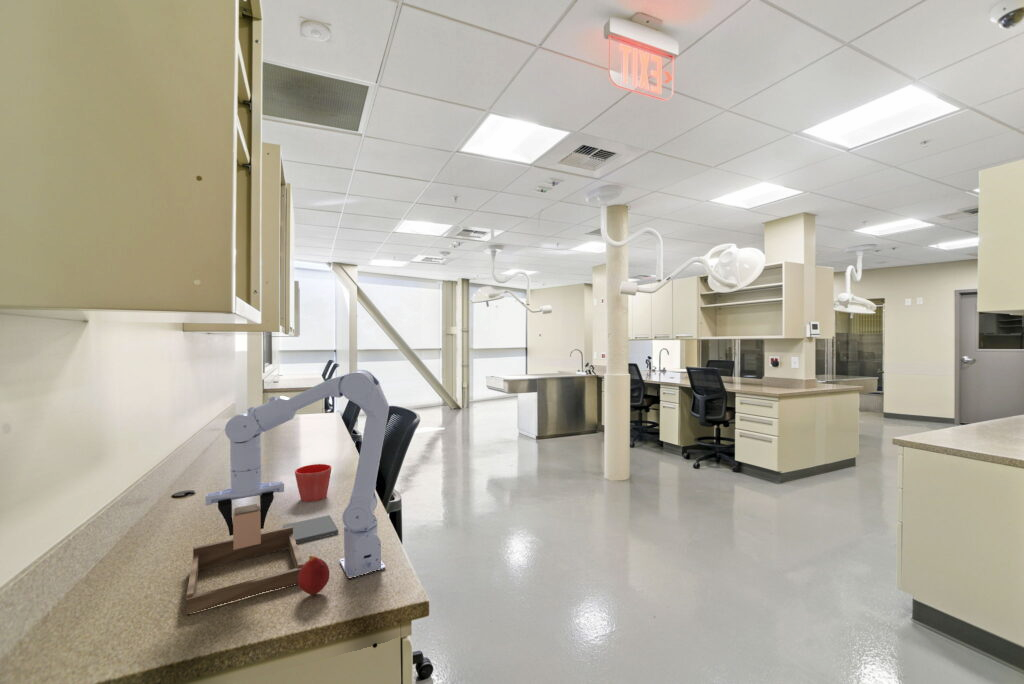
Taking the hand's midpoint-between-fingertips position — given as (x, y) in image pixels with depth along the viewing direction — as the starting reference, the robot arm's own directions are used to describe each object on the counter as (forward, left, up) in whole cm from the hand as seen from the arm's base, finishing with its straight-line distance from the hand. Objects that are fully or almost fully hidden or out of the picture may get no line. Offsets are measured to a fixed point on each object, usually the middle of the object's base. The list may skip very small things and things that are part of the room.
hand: (246, 530), depth 95 cm
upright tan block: (0, 0, -2) cm, 2 cm away
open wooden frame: (0, 0, -10) cm, 10 cm away
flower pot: (+44, -20, -10) cm, 49 cm away
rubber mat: (+17, -15, -10) cm, 25 cm away
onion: (-16, -11, -10) cm, 22 cm away
